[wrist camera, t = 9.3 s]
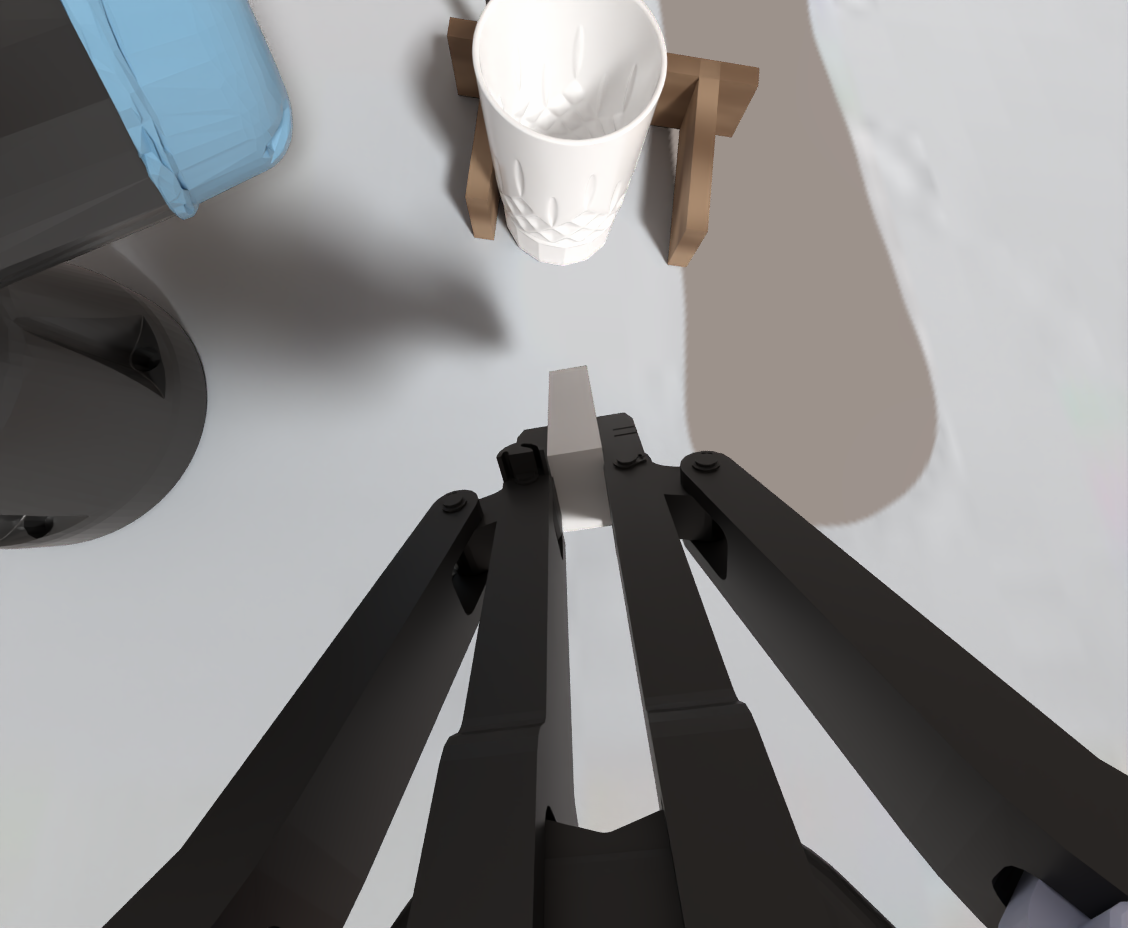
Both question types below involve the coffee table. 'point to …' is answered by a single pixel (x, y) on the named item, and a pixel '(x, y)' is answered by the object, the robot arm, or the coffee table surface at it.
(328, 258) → the coffee table surface
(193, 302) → the coffee table surface
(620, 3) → the white cup
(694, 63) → the wooden cup stand
